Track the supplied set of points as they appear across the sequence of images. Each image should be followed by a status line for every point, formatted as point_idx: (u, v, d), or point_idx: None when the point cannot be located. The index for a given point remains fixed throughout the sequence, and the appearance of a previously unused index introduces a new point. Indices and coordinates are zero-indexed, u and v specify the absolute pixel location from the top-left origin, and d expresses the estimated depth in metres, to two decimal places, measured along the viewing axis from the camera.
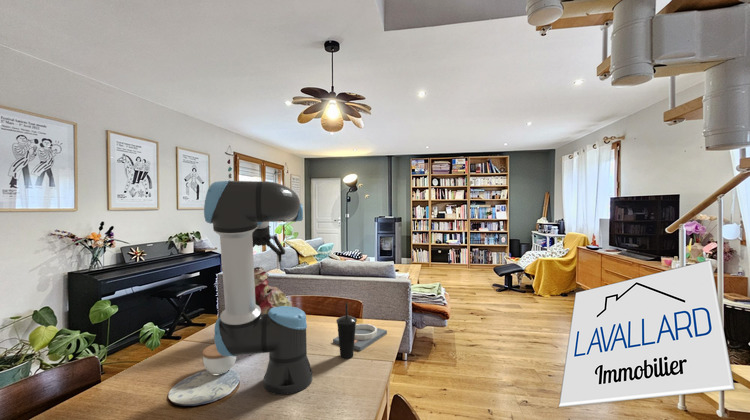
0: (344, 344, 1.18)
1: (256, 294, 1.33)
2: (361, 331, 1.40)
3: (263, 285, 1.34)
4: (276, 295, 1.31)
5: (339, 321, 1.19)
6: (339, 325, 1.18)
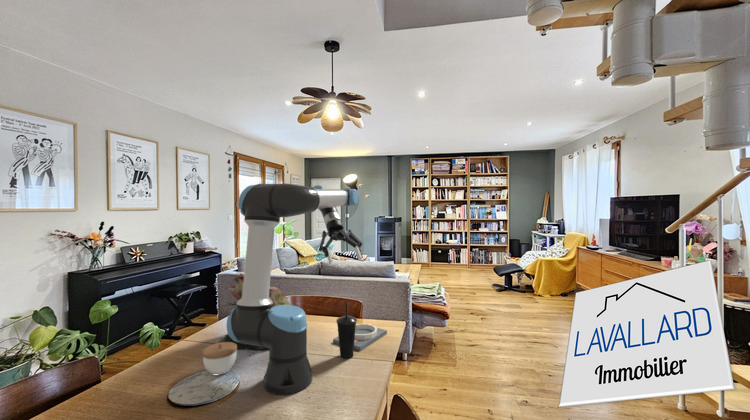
0: (344, 344, 1.18)
1: None
2: (361, 331, 1.40)
3: None
4: (275, 295, 1.31)
5: (339, 321, 1.19)
6: (339, 325, 1.18)
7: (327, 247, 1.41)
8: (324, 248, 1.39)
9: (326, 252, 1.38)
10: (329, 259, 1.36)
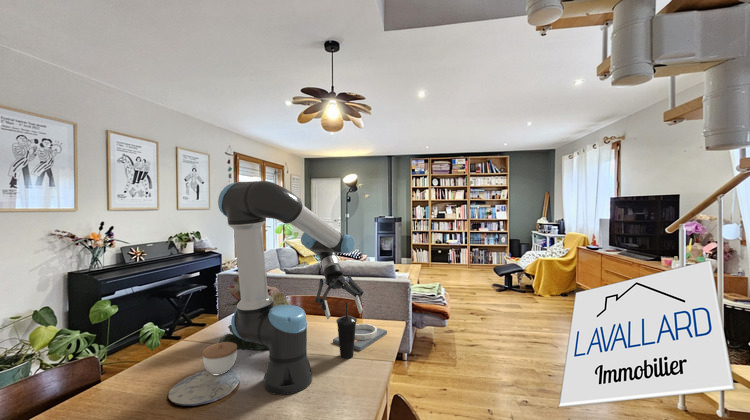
0: (344, 344, 1.18)
1: None
2: (361, 331, 1.40)
3: None
4: (275, 295, 1.31)
5: (339, 321, 1.18)
6: (339, 325, 1.18)
7: (324, 298, 1.27)
8: (321, 300, 1.25)
9: (323, 305, 1.24)
10: (326, 313, 1.22)
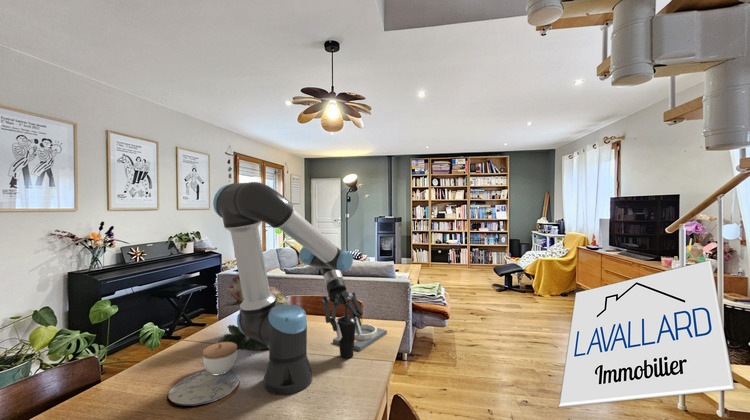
0: (344, 344, 1.18)
1: None
2: None
3: None
4: (274, 295, 1.31)
5: (339, 321, 1.18)
6: (339, 325, 1.18)
7: None
8: (333, 321, 1.19)
9: (334, 326, 1.18)
10: (338, 335, 1.16)
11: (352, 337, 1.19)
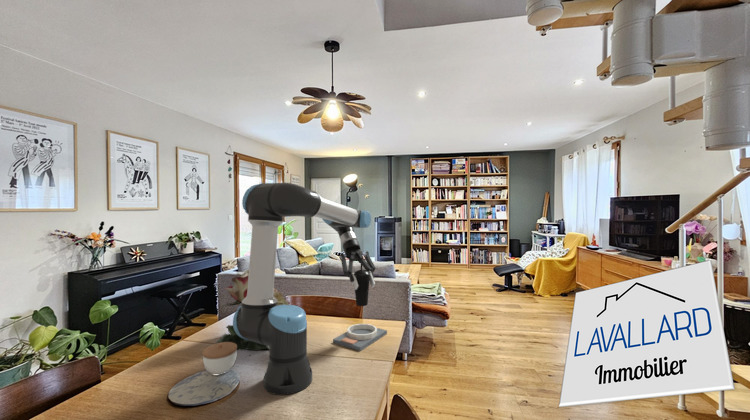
0: (360, 293, 1.34)
1: None
2: (361, 331, 1.40)
3: None
4: (273, 295, 1.30)
5: (355, 273, 1.35)
6: (355, 276, 1.35)
7: (351, 271, 1.37)
8: (350, 273, 1.35)
9: (351, 277, 1.34)
10: (355, 284, 1.33)
11: (367, 287, 1.35)
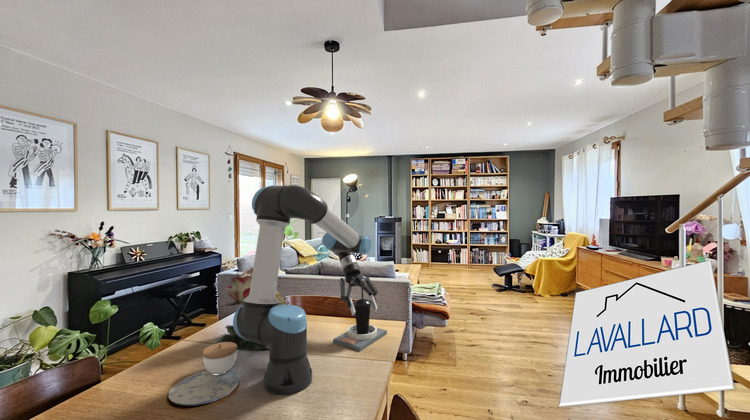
0: (360, 323, 1.35)
1: None
2: None
3: None
4: None
5: (356, 303, 1.35)
6: (356, 306, 1.35)
7: None
8: (347, 298, 1.36)
9: (349, 303, 1.35)
10: (352, 310, 1.33)
11: (367, 317, 1.36)
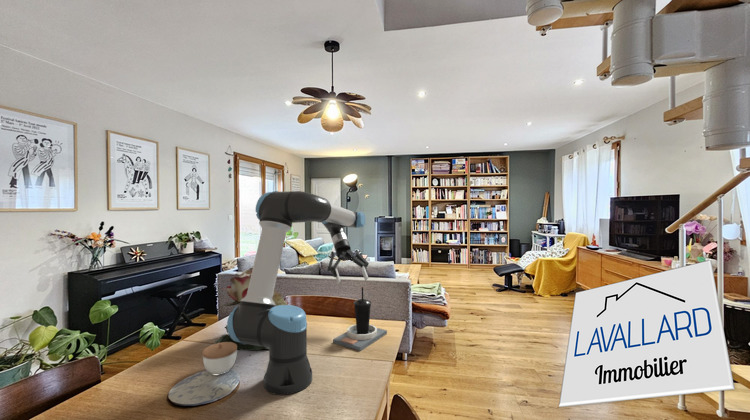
0: (361, 323, 1.35)
1: None
2: None
3: None
4: None
5: (356, 303, 1.36)
6: (356, 306, 1.35)
7: (335, 267, 1.48)
8: (332, 268, 1.46)
9: (334, 272, 1.45)
10: (337, 279, 1.44)
11: (368, 317, 1.36)
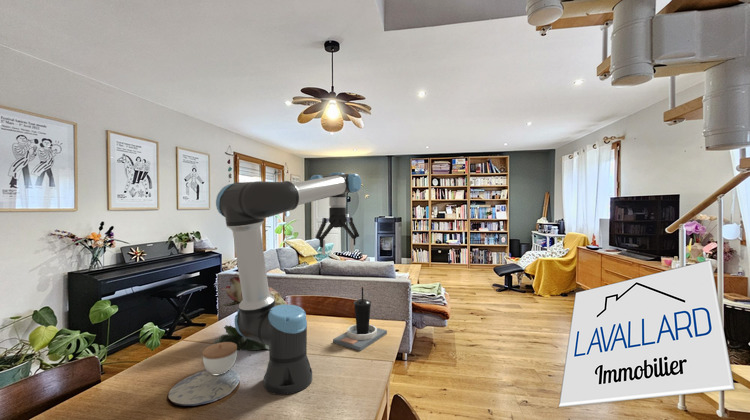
0: (361, 323, 1.35)
1: None
2: None
3: None
4: None
5: (356, 303, 1.36)
6: (356, 306, 1.35)
7: None
8: (320, 239, 1.41)
9: (321, 244, 1.42)
10: (322, 251, 1.42)
11: (368, 317, 1.36)
